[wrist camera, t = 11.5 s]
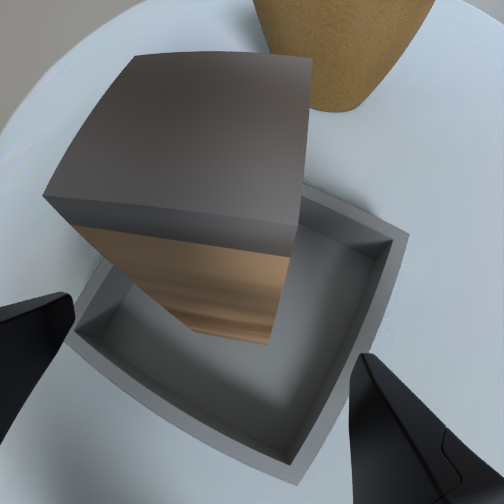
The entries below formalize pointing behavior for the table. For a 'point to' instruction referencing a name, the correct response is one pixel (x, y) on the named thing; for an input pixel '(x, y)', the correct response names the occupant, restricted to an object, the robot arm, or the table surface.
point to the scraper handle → (195, 183)
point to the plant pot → (342, 42)
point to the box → (252, 354)
